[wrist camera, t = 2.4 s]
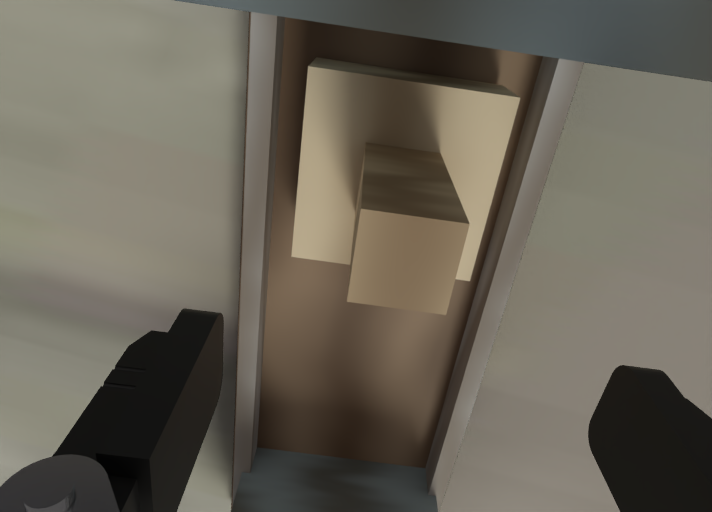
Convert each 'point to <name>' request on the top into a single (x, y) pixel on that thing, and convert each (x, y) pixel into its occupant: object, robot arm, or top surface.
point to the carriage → (398, 178)
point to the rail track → (330, 280)
